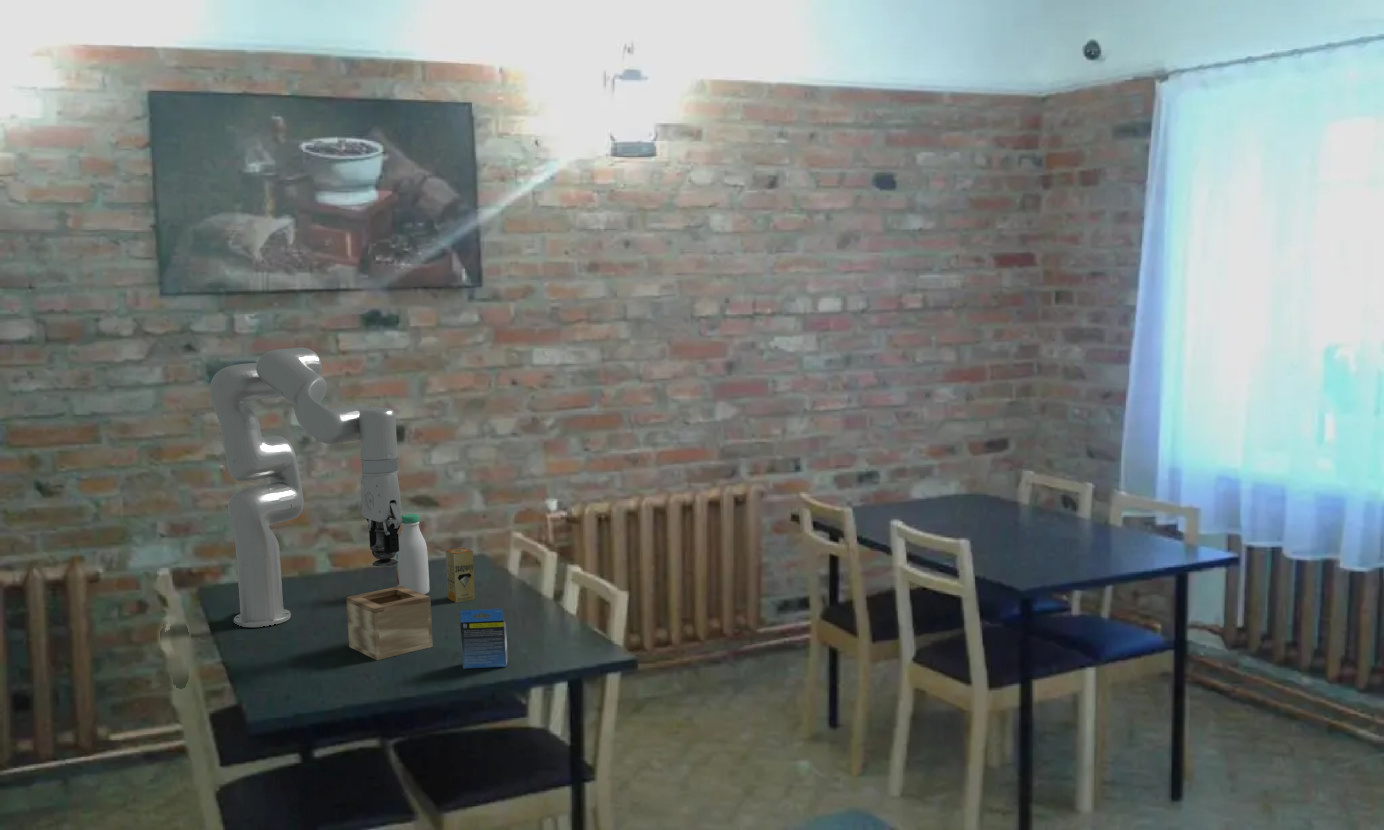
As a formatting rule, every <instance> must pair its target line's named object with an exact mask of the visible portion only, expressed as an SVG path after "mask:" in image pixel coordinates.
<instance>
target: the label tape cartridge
mask: <svg viewBox="0 0 1384 830" xmlns="http://www.w3.org/2000/svg"><path fill="white" fill-rule="evenodd" d="M503 610H504V609H503V607H502V608H479V609H478V608H477V609H475V608H474V609H459V614H460V615H459V616H460V620H459V626H460V640H461V655H462V656H461V658H462V659H461V660H462V669H464V670H466V669H469V670H470V669H485V668H506V667H507V665H508V641H507V640H508V639H507V638H508V637H507V623H506V621H504V620H505V619H504V613H503V612H504V611H503ZM481 614H482V615H486V616H487V615H488V616H487V617H485V616H484V617H475V616H479V615H481Z"/></svg>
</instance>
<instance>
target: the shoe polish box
mask: <svg viewBox="0 0 1384 830" xmlns="http://www.w3.org/2000/svg"><path fill="white" fill-rule="evenodd" d="M445 564H446V583H447V599H449V600H450V601H452V602H454V603H456V604H457V603H461V602H468V601H472V600H475V599H476V592H475V591H476V590H475V572H474V571H475V570H474V551H473V550H472V549H468V548H466V547H461V548H454V549H448V550H445Z"/></svg>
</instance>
